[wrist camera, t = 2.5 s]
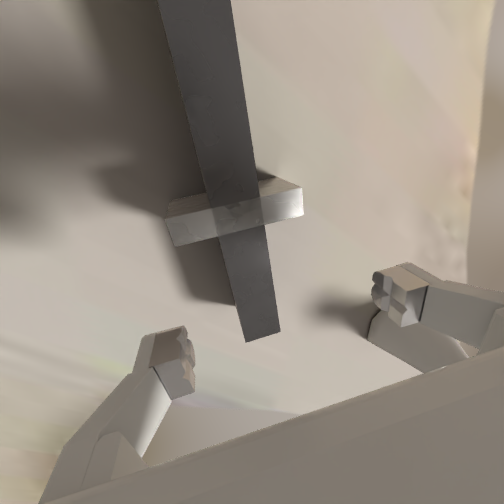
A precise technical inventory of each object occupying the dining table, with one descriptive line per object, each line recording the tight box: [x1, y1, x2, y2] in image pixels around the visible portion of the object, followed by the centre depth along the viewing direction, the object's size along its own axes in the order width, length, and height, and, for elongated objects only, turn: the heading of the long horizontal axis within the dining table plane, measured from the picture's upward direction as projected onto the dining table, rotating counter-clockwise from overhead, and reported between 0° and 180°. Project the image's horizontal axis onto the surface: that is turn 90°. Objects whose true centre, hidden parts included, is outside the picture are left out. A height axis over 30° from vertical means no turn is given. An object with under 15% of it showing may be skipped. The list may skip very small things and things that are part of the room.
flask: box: [367, 310, 469, 373], centre depth 21 cm, size 7×7×10 cm
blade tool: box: [157, 0, 304, 342], centre depth 11 cm, size 8×30×4 cm, turn 10°
